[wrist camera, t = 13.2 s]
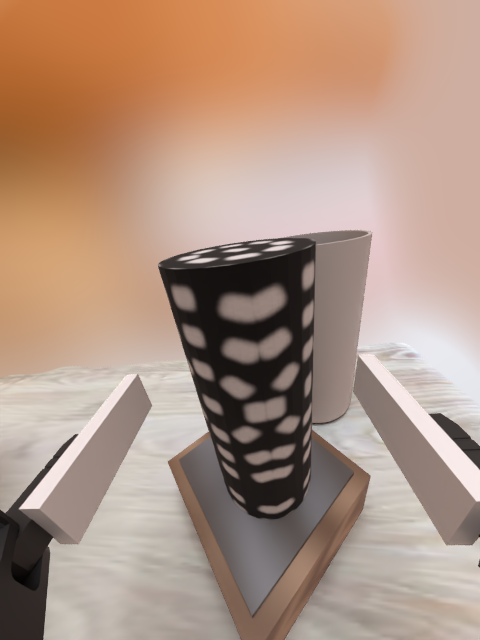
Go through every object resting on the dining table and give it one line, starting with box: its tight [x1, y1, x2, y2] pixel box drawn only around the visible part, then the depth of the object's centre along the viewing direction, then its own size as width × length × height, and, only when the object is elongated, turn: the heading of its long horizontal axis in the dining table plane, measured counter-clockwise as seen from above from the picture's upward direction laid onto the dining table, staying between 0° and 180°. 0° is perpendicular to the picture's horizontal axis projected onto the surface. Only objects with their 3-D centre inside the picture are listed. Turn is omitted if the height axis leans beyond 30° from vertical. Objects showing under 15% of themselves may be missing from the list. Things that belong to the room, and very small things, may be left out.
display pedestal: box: [168, 430, 370, 640], centre depth 21 cm, size 14×14×6 cm
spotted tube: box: [158, 238, 316, 520], centre depth 16 cm, size 8×8×20 cm
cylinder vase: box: [284, 230, 372, 423], centre depth 30 cm, size 12×12×25 cm
